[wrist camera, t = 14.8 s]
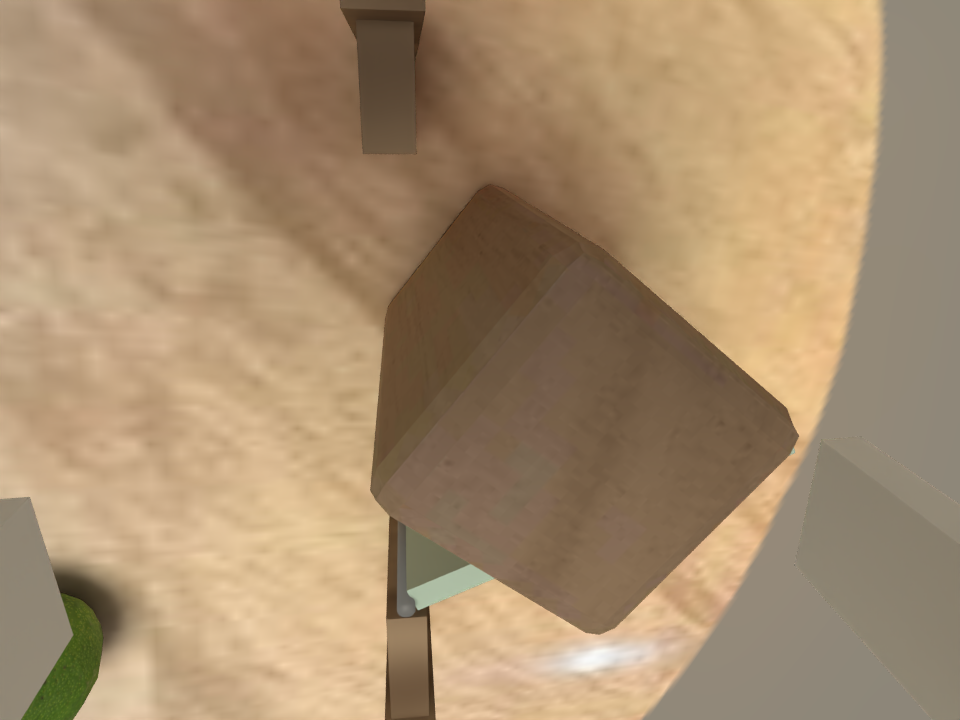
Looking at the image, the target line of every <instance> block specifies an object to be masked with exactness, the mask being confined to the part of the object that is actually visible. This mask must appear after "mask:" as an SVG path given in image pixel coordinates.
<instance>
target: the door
mask: <svg viewBox="0 0 960 720" xmlns="http://www.w3.org/2000/svg"><path fill="white" fill-rule="evenodd" d="M794 453H795V450H794V448H793V450H792V452H791V454H794ZM791 454H790V455H791ZM492 579H495V578H493V577H492V576H490V575H488V574H486V573H485V572H483V571H481V570H480V569H478V568H476V567H475V566H473V565H471V564H470V563H468V562H466V561H465V560H463V559H461V558H460V557H458V556H456V555H455V554H453V553H451V552H450V551H448V550H446V549H445V548H443V547H441V546H440V545H438V544H436V543H435V542H433V541H431V540H430V539H428V538H426V537H424V536H423V535H421V534H419V533H418V532H416V531H414V530H413V529H411V528H409V527H408V526H406V525H404V524H403V523H401V522H399V521H398V549H397V613H398V614H399V615H400V616H401V617H410V616H412V615H413V614H414V613H415V606H416V608H417V610H420V609H423V608H425V607H427V606H430V605H432V604H435V603H437V602H439V601H442V600H444V599H447V598H449V597H451V596H454V595H456V594H459V593H461V592H463V591H466V590H468V589H471V588H473V587H475V586H478V585H480V584H483V583H485V582H487V581H490V580H492Z"/></svg>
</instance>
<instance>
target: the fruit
mask: <svg viewBox="0 0 960 720" xmlns="http://www.w3.org/2000/svg"><path fill="white" fill-rule="evenodd" d="M60 594H61V598H62V601H63V604H64V607H65V610H66V613H67V617H68V620H69V623H70V626H71V629H72V632H73V636H72V638H71V640H70V641H69V643H68V645H67V646H66V648H65V649H64V651H63V653H62V654H61V656H60V657H59V659H58V661H57V662H56V664H55V666H54V667H53V669H52V670H51V672H50V674H49V675H48V677H47V678H46V680H45V682H44V683H43V685H42V687H41V688H40V690H39V691H38V693H37V695H36V696H35V698H34V699H33V701H32V703H31V704H30V706H29V708H28V709H27V711H26V712H25V714H24V716H23V717H22V719H21V720H73V719H74V717H75V716H76V714H77V713H78V711H79V710H80V708H81V707H82V705H83V704H84V702H85V700H86V698H87V696H88V695H89V693H90V691H91V689H92V687H93V685H94V684H95V682H96V680H97V678H98V673H99V667H100V660H101V654H102V645H103V633H102V627H101V624H100V622H99V621H98V619H97V617H96V616H95V613H94V611H93V610H92V609H91V608H90V607H89V606H88V605H87V604H85V603H84V602H83V601H82V600H80V599H78V598H75V597H72V596H69V595H67V594H64V593H60Z"/></svg>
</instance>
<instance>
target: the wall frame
mask: <svg viewBox="0 0 960 720" xmlns="http://www.w3.org/2000/svg"><path fill="white" fill-rule="evenodd" d="M340 8H341V10H342V12H343V14H344V16H345V18H346V20H347V22H348V24H349V26H350V28H351V30H352V32H353V33H354V35H355V37H356V39H357V50H358V70H359V90H360V110H361V129H362V149H363V154H417V150H416V106H415V59H416V54H417V49H418V44H419V40H420V35H421V30H422V25H423V20H424V15H425V0H340ZM397 549H398V520H396V519H394V518H393V517H391V516H390V518H389V550H388V582H387V614H386V623H387V668H386V703H385V720H436V718H435V700H434V683H433V665H432V648H431V630H430V613H429V606H427V607H425V608H423V609H420V610H417V608H416V606H415V613H414V614H413V615H412V616H410V617H401V616H400V615H399V614H398V613H397Z"/></svg>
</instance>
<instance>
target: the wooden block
mask: <svg viewBox="0 0 960 720" xmlns="http://www.w3.org/2000/svg"><path fill="white" fill-rule="evenodd" d="M798 437H799V435H798V433H797V431H796V430H795V428H794V426H793V424H792V421H791V418H790V416H789V413H788V410H787V408H786V407H785V406H784V405H783V404H781V403H780V402H779V401H778V400H777V399H776V398H775V397H773V396H772V395H771V394H770V393H769V392H768V391H766V390H765V389H764V388H763V387H762V386H761V385H760V384H758V383H757V382H756V381H755V380H754V379H753V378H751V377H750V376H749V375H748V374H747V373H746V372H745V371H743V370H742V369H741V368H740V367H739V366H738V365H736V364H735V363H734V362H733V361H732V360H731V359H730V358H728V357H727V356H726V355H725V354H724V353H723V352H721V351H720V350H719V349H718V348H717V347H716V346H715V345H713V344H712V343H711V342H710V341H709V340H708V339H706V338H705V337H704V336H703V335H702V334H701V333H699V332H698V331H697V330H696V329H695V328H694V327H693V326H691V325H690V324H689V323H688V322H687V321H686V320H684V319H683V318H682V317H681V316H680V315H679V314H678V313H676V312H675V311H674V310H673V309H672V308H671V307H669V306H668V305H667V304H666V303H665V302H664V301H663V300H661V299H660V298H659V297H658V296H657V295H656V294H654V293H653V292H652V291H651V290H650V289H649V288H648V287H646V286H645V285H644V284H643V283H642V282H641V281H639V280H638V279H637V278H636V277H635V276H634V275H633V274H631V273H630V272H629V271H628V270H627V269H626V268H624V267H623V266H622V265H621V264H620V263H619V262H618V261H616V260H615V259H614V258H613V257H612V256H611V255H609V254H608V253H607V252H606V251H605V250H604V249H602V248H600V247H599V246H597V245H595V244H594V243H592V242H591V241H589V240H587V239H586V238H584V237H582V236H581V235H579V234H577V233H576V232H574V231H573V230H571V229H569V228H568V227H566V226H564V225H563V224H561V223H559V222H558V221H556V220H555V219H553V218H551V217H550V216H548V215H546V214H545V213H543V212H541V211H540V210H538V209H536V208H535V207H533V206H532V205H530V204H528V203H527V202H525V201H523V200H522V199H520V198H518V197H517V196H515V195H514V194H512V193H510V192H509V191H507V190H505V189H504V188H501V187H497V186H494V185H491V184H490V185H488V186H486V187H485V188H483V189H481V190H479V191H478V192H477V193H476V194H475V196H474V197H473V198H472V199H471V201H470V202H469V203H468V205H467V206H466V207H465V208H464V210H463V211H462V212H461V214H460V215H459V216H458V217H457V219H456V220H455V221H454V222H453V224H452V225H451V226H450V228H449V229H448V230H447V231H446V233H445V234H444V235H443V237H442V238H441V239H440V240H439V242H438V243H437V244H436V246H435V247H434V248H433V249H432V251H431V252H430V253H429V255H428V256H427V257H426V258H425V260H424V261H423V262H422V264H421V265H420V266H419V267H418V269H417V270H416V271H415V273H414V274H413V275H412V276H411V278H410V279H409V280H408V282H407V283H406V284H405V285H404V287H403V288H402V289H401V291H400V292H399V293H398V294H397V296H396V297H395V298H394V300H393V301H392V302H391V303H390V305H389V306H388V310H387V314H386V318H385V327H384V338H383V350H382V362H381V373H380V385H379V396H378V408H377V419H376V431H375V443H374V454H373V466H372V477H371V489H370V491H371V492H372V494H373V496H374V498H375V500H376V501H377V502H378V503H379V504H380V505H381V507H382V508H383V509H384V510H385V511H386V512H387V514H388V515H389V516H391V517H393V518H394V519H396V520H398V521H399V522H401V523H403V524H404V525H406V526H408V527H409V528H411V529H413V530H414V531H416V532H418V533H419V534H421V535H423V536H424V537H426V538H428V539H430V540H431V541H433V542H435V543H436V544H438V545H440V546H441V547H443V548H445V549H446V550H448V551H450V552H451V553H453V554H455V555H456V556H458V557H460V558H461V559H463V560H465V561H466V562H468V563H470V564H471V565H473V566H475V567H476V568H478V569H480V570H481V571H483V572H485V573H486V574H488V575H490V576H492V577H493V578H495V579H497V580H498V581H500V582H502V583H503V584H505V585H507V586H508V587H510V588H512V589H513V590H515V591H517V592H518V593H520V594H522V595H523V596H525V597H527V598H528V599H530V600H532V601H533V602H535V603H537V604H538V605H540V606H542V607H543V608H545V609H547V610H548V611H550V612H552V613H554V614H555V615H557V616H559V617H560V618H562V619H564V620H565V621H567V622H569V623H570V624H572V625H574V626H575V627H577V628H579V629H580V630H582V631H584V632H585V633H591V634H598V635H600V634H602V633H605V632H607V631H609V630H611V629H614V628H615V627H616V626H617V625H618V624H619V623H620V622H621V621H623V620H624V619H625V618H626V617H627V616H628V615H629V614H630V613H631V612H632V611H633V610H634V609H635V608H636V607H637V606H638V605H639V604H640V603H641V602H642V601H643V600H644V599H645V598H646V597H647V596H648V595H649V594H650V593H651V592H652V591H653V590H654V589H655V588H656V587H657V586H658V585H659V584H660V583H661V582H662V581H663V580H664V579H665V578H666V577H667V576H668V575H669V574H670V573H671V572H672V571H673V570H674V569H675V568H676V567H677V566H678V565H679V564H680V563H681V562H682V561H683V560H684V559H685V558H686V557H687V556H688V555H689V554H690V553H691V552H692V551H693V550H694V549H695V548H696V547H697V546H698V545H699V544H700V543H701V542H702V541H703V540H704V539H705V538H706V537H707V536H708V535H709V534H710V533H711V532H712V531H713V530H714V529H715V528H716V527H717V526H718V525H719V524H720V523H721V522H722V521H723V520H724V519H725V518H726V517H727V516H728V515H729V514H730V513H731V512H732V511H733V510H734V509H735V508H736V507H737V506H738V505H739V504H740V503H741V502H742V501H743V500H745V499H746V498H747V497H748V496H749V495H750V494H751V493H752V492H753V491H754V490H755V489H756V488H757V487H758V486H759V485H760V484H761V483H762V482H763V481H764V480H765V479H766V478H767V477H768V476H769V475H770V474H771V473H772V472H773V471H774V470H775V469H776V468H777V467H778V466H779V465H780V464H781V463H782V462H783V461H784V460H785V459H786V458H787V457H788V456H789V455H790V454H791V452H792V450H793V448H794V445H795V443H796V441H797V439H798Z"/></svg>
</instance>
